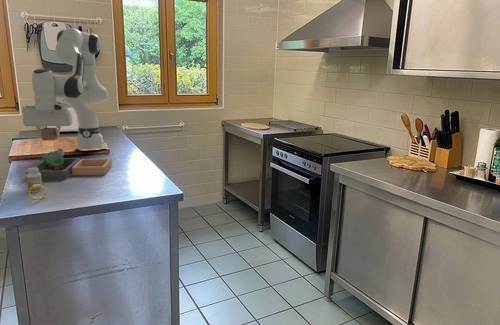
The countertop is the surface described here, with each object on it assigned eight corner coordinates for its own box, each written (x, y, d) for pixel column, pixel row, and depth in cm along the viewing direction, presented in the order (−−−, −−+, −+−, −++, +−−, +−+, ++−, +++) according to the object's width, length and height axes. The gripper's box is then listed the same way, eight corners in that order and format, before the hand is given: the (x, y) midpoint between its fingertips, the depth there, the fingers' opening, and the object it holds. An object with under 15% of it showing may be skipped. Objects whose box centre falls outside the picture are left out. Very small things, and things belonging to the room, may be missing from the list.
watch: (30, 201, 144) (27, 187, 143) (30, 199, 147) (27, 185, 145) (47, 198, 147) (44, 184, 145) (47, 196, 149) (44, 182, 148)
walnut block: (46, 138, 173) (45, 127, 172) (57, 138, 174) (56, 127, 173) (42, 140, 169) (41, 129, 167) (54, 140, 169) (52, 129, 168)
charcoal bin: (46, 166, 192) (45, 158, 191) (81, 165, 194) (80, 158, 193) (26, 180, 169) (25, 171, 168) (66, 179, 171) (65, 171, 170)
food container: (54, 174, 178) (52, 154, 175) (43, 173, 179) (41, 153, 176) (71, 167, 190) (69, 149, 187) (61, 167, 191) (59, 148, 188)
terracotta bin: (82, 166, 192) (81, 159, 191) (112, 166, 195) (111, 158, 194) (72, 175, 177) (71, 167, 176) (105, 174, 179) (104, 166, 178)
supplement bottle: (34, 188, 159) (31, 166, 156) (45, 188, 158) (43, 167, 156) (25, 192, 154) (22, 169, 151) (37, 193, 153) (34, 170, 150)
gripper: (18, 106, 163) (22, 137, 166) (67, 106, 166) (70, 136, 170) (24, 104, 169) (28, 134, 172) (71, 104, 172) (74, 134, 176)
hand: (49, 135), depth 171 cm, fingers closed on walnut block, 5 cm apart
